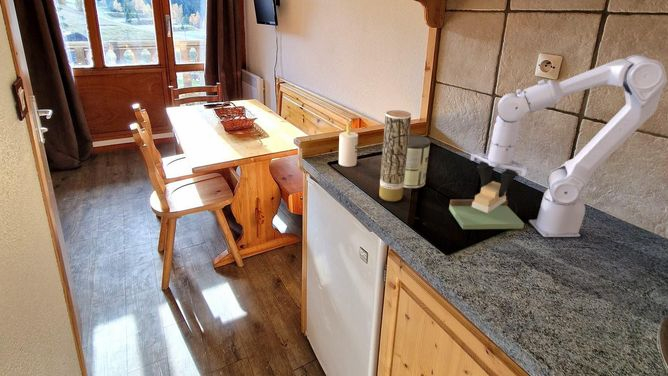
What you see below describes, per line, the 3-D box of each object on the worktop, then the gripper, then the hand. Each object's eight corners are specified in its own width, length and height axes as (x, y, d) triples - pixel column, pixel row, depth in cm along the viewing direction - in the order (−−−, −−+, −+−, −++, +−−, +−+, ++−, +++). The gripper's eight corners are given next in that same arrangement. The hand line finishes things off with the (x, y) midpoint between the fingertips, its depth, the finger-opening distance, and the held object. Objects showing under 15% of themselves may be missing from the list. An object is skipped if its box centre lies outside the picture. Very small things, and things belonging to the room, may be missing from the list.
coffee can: (392, 174, 134) (395, 133, 128) (423, 176, 133) (428, 135, 127) (393, 187, 125) (397, 144, 119) (426, 189, 124) (432, 146, 118)
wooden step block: (489, 195, 111) (493, 180, 109) (505, 201, 108) (509, 185, 106) (471, 206, 104) (474, 190, 102) (487, 213, 102) (491, 196, 100)
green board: (504, 208, 114) (506, 199, 113) (523, 228, 104) (525, 218, 103) (448, 209, 113) (450, 199, 111) (462, 229, 103) (464, 219, 102)
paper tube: (403, 202, 115) (413, 117, 105) (379, 202, 115) (387, 116, 105) (400, 192, 122) (409, 110, 111) (377, 191, 122) (384, 109, 111)
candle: (351, 168, 138) (353, 125, 132) (335, 164, 141) (336, 122, 135) (360, 162, 143) (362, 121, 137) (344, 158, 146) (345, 118, 140)
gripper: (468, 139, 102) (459, 188, 108) (525, 155, 93) (513, 207, 98) (482, 134, 106) (473, 181, 112) (538, 148, 97) (525, 198, 103)
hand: (492, 192), depth 106 cm, fingers closed on wooden step block, 4 cm apart
